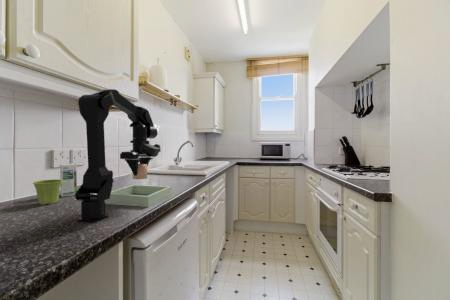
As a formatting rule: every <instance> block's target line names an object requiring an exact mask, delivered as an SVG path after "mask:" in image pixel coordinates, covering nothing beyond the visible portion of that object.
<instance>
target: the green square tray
mask: <svg viewBox="0 0 450 300" xmlns="http://www.w3.org/2000/svg"><path fill="white" fill-rule="evenodd" d="M172 190H173V189H172V186H166V185H165V186H163V185H162V186H161V185H145V184H131V185H128V186H124V187H121V188H117V189H114V190H111V194H110V198H109V199H107V200H105V205H117V206H128V207H129V206H131V207H139V208H140V207H143V208H150V207H151V206H153V205H155V204H157V203H160V202H162V201H164V200H165V199H167V198H169V197H171V196H172V193H173V192H172Z"/></svg>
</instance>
